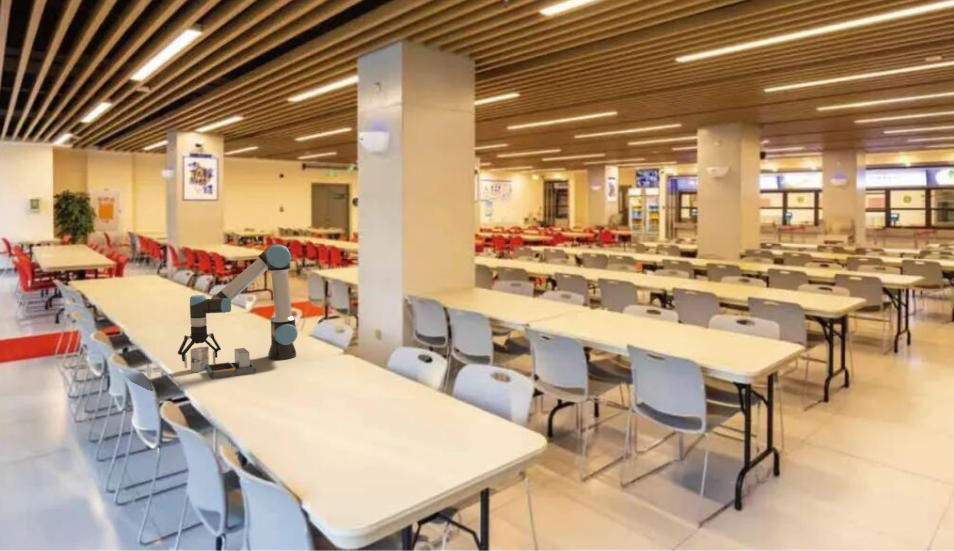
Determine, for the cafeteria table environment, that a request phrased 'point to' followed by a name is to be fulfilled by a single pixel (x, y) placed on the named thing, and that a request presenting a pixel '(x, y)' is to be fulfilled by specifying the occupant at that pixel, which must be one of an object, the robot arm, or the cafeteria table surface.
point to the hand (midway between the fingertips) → (200, 365)
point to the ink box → (199, 358)
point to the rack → (232, 366)
